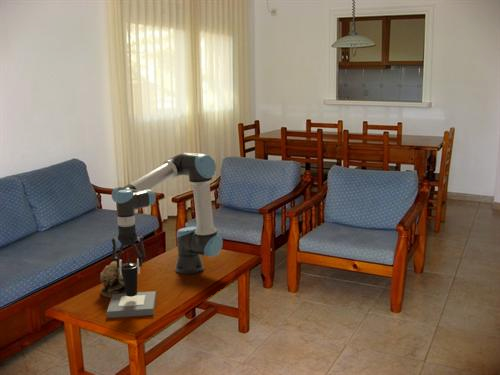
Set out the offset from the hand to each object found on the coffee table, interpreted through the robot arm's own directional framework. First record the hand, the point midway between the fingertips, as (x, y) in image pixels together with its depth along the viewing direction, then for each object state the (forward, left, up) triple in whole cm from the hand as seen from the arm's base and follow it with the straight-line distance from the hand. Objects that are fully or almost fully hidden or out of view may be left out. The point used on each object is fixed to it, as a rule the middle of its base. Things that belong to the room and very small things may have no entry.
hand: (130, 273), depth 249 cm
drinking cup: (0, 0, -10) cm, 10 cm away
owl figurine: (+9, -17, -16) cm, 25 cm away
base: (0, 0, -16) cm, 16 cm away
